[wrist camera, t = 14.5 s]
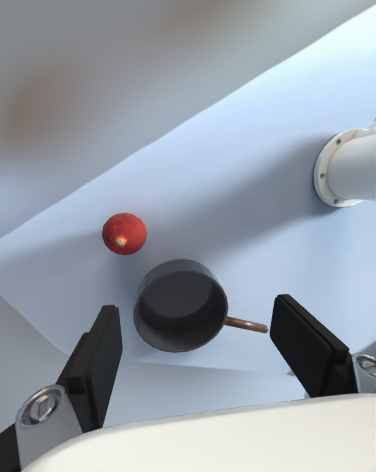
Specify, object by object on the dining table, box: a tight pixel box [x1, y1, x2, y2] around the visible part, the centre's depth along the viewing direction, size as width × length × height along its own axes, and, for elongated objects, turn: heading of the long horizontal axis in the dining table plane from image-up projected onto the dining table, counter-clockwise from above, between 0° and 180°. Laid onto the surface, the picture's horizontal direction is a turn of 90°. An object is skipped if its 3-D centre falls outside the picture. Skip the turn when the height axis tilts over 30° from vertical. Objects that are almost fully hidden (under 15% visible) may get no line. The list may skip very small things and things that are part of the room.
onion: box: [102, 213, 147, 255], centre depth 26 cm, size 6×6×8 cm
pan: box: [134, 260, 228, 353], centre depth 32 cm, size 15×15×4 cm
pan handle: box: [224, 317, 268, 333], centre depth 33 cm, size 9×1×1 cm, turn 70°
